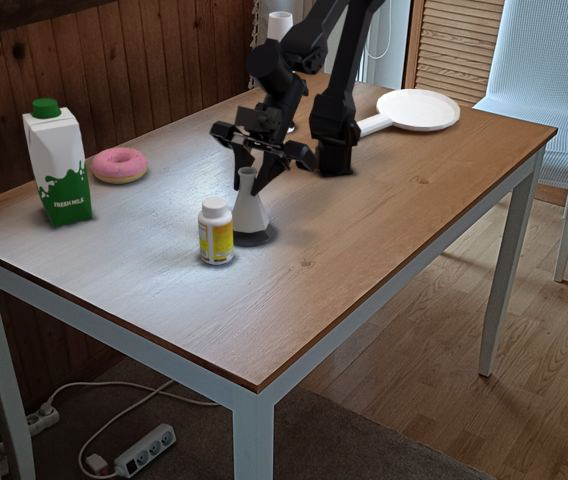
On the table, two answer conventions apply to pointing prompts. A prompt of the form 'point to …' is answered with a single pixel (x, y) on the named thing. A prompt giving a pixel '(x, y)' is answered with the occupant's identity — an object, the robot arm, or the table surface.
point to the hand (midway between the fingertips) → (243, 192)
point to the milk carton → (58, 162)
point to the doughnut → (119, 165)
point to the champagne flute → (279, 28)
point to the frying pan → (412, 111)
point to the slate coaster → (253, 237)
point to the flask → (248, 205)
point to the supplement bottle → (215, 231)
